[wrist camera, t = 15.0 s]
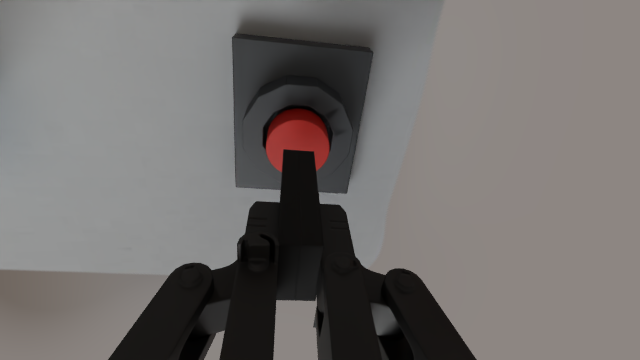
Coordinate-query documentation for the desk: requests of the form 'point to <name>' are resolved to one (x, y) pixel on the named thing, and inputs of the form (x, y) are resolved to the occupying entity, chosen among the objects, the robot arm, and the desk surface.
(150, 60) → the desk surface
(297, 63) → the button box
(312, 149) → the button
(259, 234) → the robot arm
